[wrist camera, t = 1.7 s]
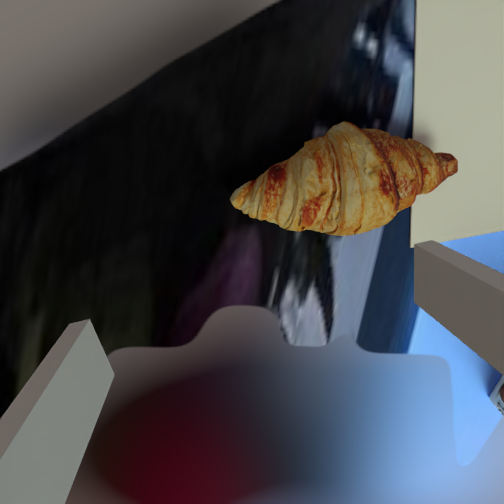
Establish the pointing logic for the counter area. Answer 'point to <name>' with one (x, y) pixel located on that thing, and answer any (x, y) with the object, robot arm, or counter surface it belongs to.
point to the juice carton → (498, 395)
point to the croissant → (345, 182)
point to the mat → (460, 116)
